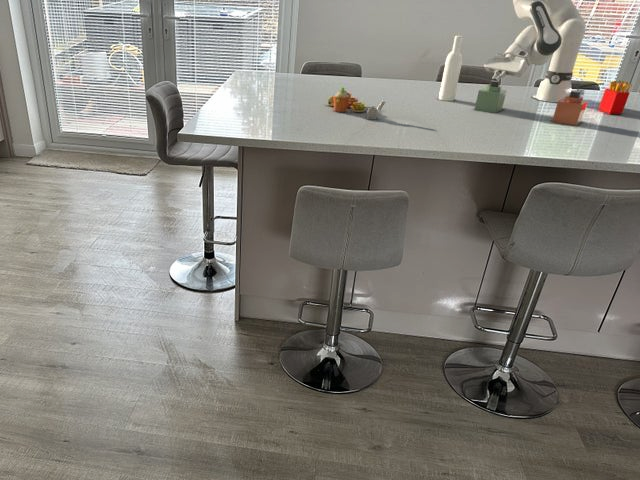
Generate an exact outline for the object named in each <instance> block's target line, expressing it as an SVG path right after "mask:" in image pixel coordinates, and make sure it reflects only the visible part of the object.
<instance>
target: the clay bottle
mask: <svg viewBox="0 0 640 480" xmlns="http://www.w3.org/2000/svg"><path fill="white" fill-rule="evenodd" d="M569 96H570V95H566V96H565V98H563V99H561V100H559V101H558V102H556V106H555V110H554V113H553V115H552V116H553V117H552V120H551V123H557V124H562V125H569V126H578V125H579V124H580V123H581V122H582V120H583V117H584V114H585V111H586V108H587V105H588V102H589V101H588V100H584V96H581V95H580V97H579V98H576V97H569Z"/></svg>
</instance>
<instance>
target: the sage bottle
mask: <svg viewBox="0 0 640 480" xmlns="http://www.w3.org/2000/svg"><path fill="white" fill-rule="evenodd" d="M489 85H490V84H486V85H485V87H484V88H481V89H478V93H477V97H476V101H475V106H474V108H473V109H474V111H479V112H486V113H491V114H496V113H499V112H500V111H502V110H503V107H504V103H505V99H506V96H507V89H502V88H503V86H502V85H499V86H498V87H492V86H489Z"/></svg>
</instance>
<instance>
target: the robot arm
mask: <svg viewBox="0 0 640 480" xmlns="http://www.w3.org/2000/svg"><path fill="white" fill-rule="evenodd" d="M512 4H513V8H514V12H515V14H516V16H517V18H518V20H521V21H523V22H525V21H531V20H532V22H533V24H531V25H528V26H526V27H525V28H524V29H523V30H522V31H521V32H520V33H519V34H518V35H517V37H516V38H515V40H514V42H512V43H511V44H510V45H509V47H508V48H507V49H506V50H505V51H504V53H497V54H493V55H492V56H491V57H490V58H488V60H487V61H486V62H485V63H484V65H483V67H484V70H485V71H486V72H487V73H492V74H493V73H494V74H493V76H492V77H491V79H492V80H495V81H500V80H501V79H503V78H505V77H506V76H511V77H517V78H521V77H523V76H524V75H525V74H526V72H527V71H528V69H529V67H530V66H531V65H532V64H533V65H535V66H542V65H545V64H547V62H548V61H549V60H550V64H549V67H548V69H547V70H546V73H545V78H544V79H543V80H542V81H540V83H539V87H538V89H537V93H536V94H533V95H532V98H534V99H537V100H539V101H543V102H548V103H558V101H559V100H561V99H563V98H565V96H566V95H570V93H571V91H572V87H573V84H572V81H571V80H572V77H573V74H574V72H573V71H574V68H575V64H576V62H577V59H578V54H579V52H580V48H581V45H582V42H583V39H584V36H585V33H586V27H587V26H586V21H585V20H584V18H583V16H582V15H581V13H580V12H579V9H578V8H577V7H576V5H575V4H574V2H573V1H572V0H512ZM550 58H551V59H550ZM600 85H605V83H604V82H602V83H589V84H583V85H581V86H578V88H577V89H576V91H580V89H581V88H584V87H585V88H586V87H589V86H600Z"/></svg>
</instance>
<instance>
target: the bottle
mask: <svg viewBox="0 0 640 480" xmlns="http://www.w3.org/2000/svg"><path fill="white" fill-rule="evenodd" d="M463 38H464V36H463V35H455V36H454V39H453V40H454V41H453V46H452V49H451V50H452V51H450V52H449V53H448V54H447V57H446V59H445V63H444V69H443V74H442V79H441V83H440V84H441V85H440V90H439V93H438V100H439V101H444V102H453V101H454V100H455V98H456V93H457V89H458V83H459V78H460V74H461V69H462V64H463V54H462V53H461V48H462V43H463V40H464V39H463Z"/></svg>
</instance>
